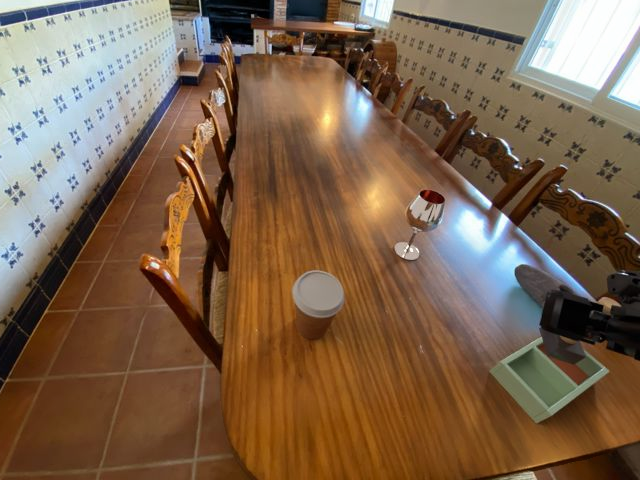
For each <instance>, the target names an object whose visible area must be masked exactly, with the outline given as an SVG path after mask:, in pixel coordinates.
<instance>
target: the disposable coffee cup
mask: <svg viewBox="0 0 640 480" xmlns="http://www.w3.org/2000/svg"><path fill="white" fill-rule="evenodd" d="M291 293H292V295H291V296H292V299H293V302H294V308H295V309H294V310H295V311H294V312H295V323H296V324H295V325H296V329H297V331H298V333H299V334H300V335H301V336H302V337H304V338H306V339H308V340H319V339H320V338H321V339H322V337H324V336H325V334H326V332H327V331H328V329H329V327H330V326H331V324H332V322H333V320H334V318H335V317H336V315H337V313H339V312H340V311H341V310H342V309H343V307H344V304H345V301H346V295H345V289H344V288H343V285H342V283H341V282H340V280H339V279H338V278H337V277H336V276H335V275H334V274H332V273H329V272H328V271H324V270H317V269H313V270H309V271H306V272H304V273H302V275H300V276H299V277H298V278H297V279H296V281H295V282H294V284H293V286H292V291H291Z"/></svg>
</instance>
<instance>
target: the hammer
mask: <svg viewBox="0 0 640 480" xmlns="http://www.w3.org/2000/svg"><path fill="white" fill-rule="evenodd" d="M596 303H598V304H602V305H604V308H603V312H602V313H604V314H608V315H611V316H614V315H612V314H610V310H611V306H612V305H615V306H621V304H620V302H617V301H616V300H615V299H613V298H610V297H607V296H604V297H601V298H600V299H598V301H596ZM538 330H539V333H540V336H541V337H542V340H543V343H544V346H545V350H546V353H547V356H549V357H552V358H555V359H558V360H561V361H564V362H567V363H570V364H573V365H575V364H576V363H578V362H579V361H581V360H582V359H584V358H585V357H586V355H585V352H584V350H585V349H584V347H583V346H582V343H581V341H575V340H572V339H569V338H565V337H562V336H559V335H556V334H553V333H550V332H547V331H545V330H543V329H542V328H541V326H539V328H538ZM541 337H540V338H541ZM583 349H584V350H583Z"/></svg>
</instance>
